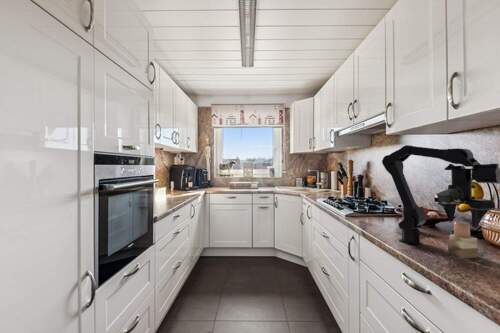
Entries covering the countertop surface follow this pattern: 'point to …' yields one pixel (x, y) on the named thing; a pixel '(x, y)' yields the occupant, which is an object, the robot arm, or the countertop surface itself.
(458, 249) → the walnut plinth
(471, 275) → the countertop surface
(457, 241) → the maple block
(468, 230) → the tan rounded piece
